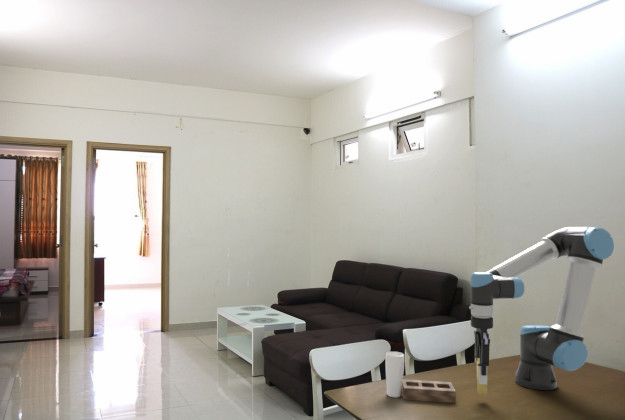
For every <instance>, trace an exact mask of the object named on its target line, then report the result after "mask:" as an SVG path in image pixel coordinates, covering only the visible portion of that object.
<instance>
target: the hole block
mask: <svg viewBox="0 0 625 420" xmlns="http://www.w3.org/2000/svg"><path fill="white" fill-rule="evenodd" d="M456 391H457V390H456V389H455V387H454V385H453V384H452V382H451V381H439V380H438V381H437V380H421V379H409V378H408V379H407V378H406V379H404V378H403V382H402V394H401V395H402V398H403V400H405V401H407V400H408V401H409V400H410V401H411V400H412V401H420V402H439V403H449V404H450V403H453V404H456V399H457V395H456V394H457V392H456Z"/></svg>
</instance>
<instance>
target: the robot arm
mask: <svg viewBox="0 0 625 420" xmlns="http://www.w3.org/2000/svg"><path fill="white" fill-rule="evenodd" d="M614 245H615V243H614V239H613V237H612V236H611V234H610V231H608V230H607V229H605V228H603V227H600V226H599V227H597V226H572V225H570V226H565V227H562V228H559V229H557V230H555V231H553V232H551V233H549V234H547V235H545V236H544V237H541V238H540V239H539V241H538V242H537V243H536V244H534V245H533V246H531V247H528V248H527V249H525V250H523V251H522V252H520V253H518V254H516V255H514V256H512V257H510V258H508V259H507V260H505V261H503V262H501V263H500V264H497V265H495V266H494V267H493V268H490V269H489V270H486V271H485V272H484V271H476V272H475V271H473V273H471V275H470V285H469V286H470V306H469V310H470V314H471V316H470V327H472V328H474V329H476V330H474V331H473V333H474V334H473V335H474V358H475V361H476V362H477V358H480V364H478V366H479V384H487V385H488V367H489V366H490V345H491V339H490V336H489V335H490V333H488V330H489V329H493V327H494V318H493V316H494V300H498V299H499V300H501V299H512V300H513V299H519V298H521V297H522V296H523V295H524V294H525V284H524V282H523V280H522V279H521V278H520V277H521V276H522V275H524V274H526V273H527V272H530V271H531V270H533V269H535V268H536V267H539V266H540V265H542V264H544V263H546V262H547V261H549V260H553V261H554V260H557V259H560V258H561V257H566V256H567V257H566V258H567V259H568V261H569V262H570V265H569V268H568V272H567V277H566V280H565V285H564V287H563V291H562V295H561V300H560V304H559V308H558V311H557V315H556V320H555V323H554V324H552V325H551V326H549V325H538V324H537V325H534V324H533V325H532V324H531V325H530V324H529V325H527V324H526V325H524V326H522V327H521V329H520V335H519V336H520V341H519V342H520V344H519V345H520V350H519V351H520V352H519V355H520V356H519V364H518V366H517V367H518V368H517V369H516V372H515V374H514V375H515V376H514V381H515V383H516V384H518V385H519V386H521V387H525V388H527V389H531V390H537V391H539V390H540V391H553V390H555V389H557V388H558V385H557V384H558V382H557V381H558V380H557V378H556V375H555V372H554V368H553V366H554V367H556V368H558V369H560V370H564V371H569V372H573V371H576V370H578V369H581V368H582V367H583V366H584V364H585V363H586V361H587V359H588V349H587V346H586V345H585V343H584V340H585V339H584V338H585V336H584V335H583V333H582V327H583V323H584V319H585V316H586V315H585V314H586V311H587V306H588V302H589V299H590V295H591V291H592V287H593V283H594V279H595V274H596V270H597V269H598V268H600V267H602V265H603V262H604V260H606V259H608V258H610V256H612V254H613V253H614V248H615V246H614Z"/></svg>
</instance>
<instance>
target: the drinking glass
mask: <svg viewBox="0 0 625 420" xmlns="http://www.w3.org/2000/svg"><path fill="white" fill-rule="evenodd" d="M384 360H385V361H384V362H385V366H384V367H385V379H386V380H385V383H386V395H387V396H388V397H390V398H400V397H402V395H403V394H402V382H403V379H404V373H405V354H404V353H403V352H399V351H388V352H386V353H385V359H384Z"/></svg>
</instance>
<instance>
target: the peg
mask: <svg viewBox="0 0 625 420" xmlns="http://www.w3.org/2000/svg"><path fill="white" fill-rule="evenodd" d="M478 364H480V358H477V361H476V381H477V382H476V383H477V385H476V386H477V388H476V391H477V393H478V394H479V395H487V394H488V383H487V384H479V366H478Z"/></svg>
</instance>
